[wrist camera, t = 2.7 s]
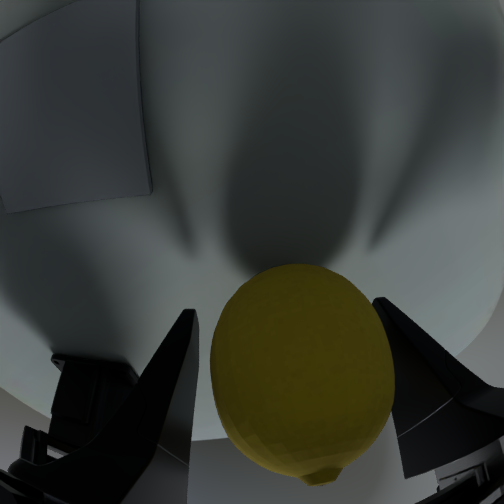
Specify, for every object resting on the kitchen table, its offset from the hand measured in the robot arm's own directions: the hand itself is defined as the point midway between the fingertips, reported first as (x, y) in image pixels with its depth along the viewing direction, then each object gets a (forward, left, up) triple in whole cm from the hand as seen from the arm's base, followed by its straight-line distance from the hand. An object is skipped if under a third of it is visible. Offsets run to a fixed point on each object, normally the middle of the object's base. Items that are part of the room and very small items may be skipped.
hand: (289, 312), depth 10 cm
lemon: (0, 0, -2) cm, 2 cm away
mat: (+8, +8, -2) cm, 11 cm away
